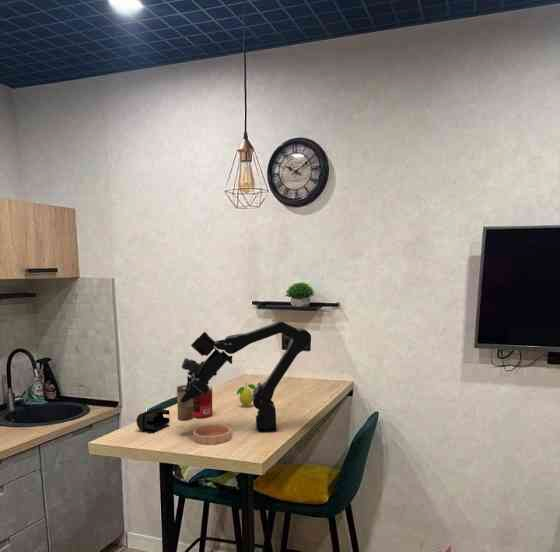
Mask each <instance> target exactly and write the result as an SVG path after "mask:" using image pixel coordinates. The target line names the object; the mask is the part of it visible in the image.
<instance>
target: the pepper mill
mask: <svg viewBox="0 0 560 552" xmlns="http://www.w3.org/2000/svg"><path fill="white" fill-rule="evenodd" d="M188 388H189V385H186V384H182V385H178V386H176V401H177V420H178V421H180V422H188V421H191V420H193V419H194V417H193V398H192V399H190V400H188V401H186V402H184V403H182V402H181V399H182V397H183V396H184V394H185V393H186V391H187V390H188Z"/></svg>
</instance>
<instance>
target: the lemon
mask: <svg viewBox="0 0 560 552" xmlns="http://www.w3.org/2000/svg"><path fill="white" fill-rule="evenodd" d="M247 387H248V388H247ZM256 387H257V386H256V385H255V384H253V383H249V384H248V383H245V386H240V387H239V388H238V390H237V391H236V395H239V402H240V403H241V405H244V407H248V406H250V405H251V404H253V398H252V397H253V391H254V390H255V389H256ZM251 390H252V391H251Z"/></svg>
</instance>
